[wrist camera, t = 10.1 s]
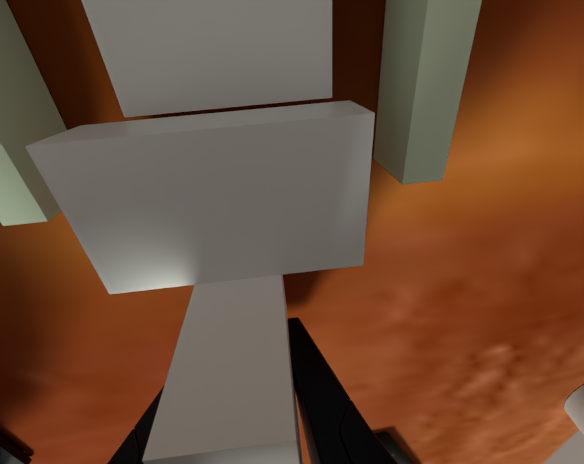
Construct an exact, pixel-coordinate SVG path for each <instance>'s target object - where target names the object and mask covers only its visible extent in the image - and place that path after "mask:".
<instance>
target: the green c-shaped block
mask: <svg viewBox="0 0 584 464" xmlns="http://www.w3.org/2000/svg"><path fill="white" fill-rule="evenodd" d="M481 2H482V0H386V7H385V19H384V32H383V45H382V57H381V70H380V83H379V95H378V108H377V121H376V133H375V146H374V160H375V161H377V162H378V163H379V164H380V165H381V166H382V167H383V168H384V169H386V170H387V171H388V172H389V173H390V174H391V175H392V176H393V177H395V178H396V179H397V180H398V181H399V182H400V183H401V184H411V183H421V182H430V181H440V180H443V176H444V172H445V167H446V163H447V158H448V154H449V149H450V144H451V140H452V135H453V131H454V126H455V121H456V117H457V112H458V108H459V103H460V98H461V94H462V89H463V85H464V80H465V76H466V71H467V66H468V62H469V57H470V53H471V48H472V43H473V39H474V34H475V30H476V25H477V21H478V16H479V11H480V7H481ZM64 131H67V129H66V126H65V124H64V122H63V120H62V118H61V116H60V114H59V112H58V110H57V107H56V105H55V103H54V101H53V99H52V97H51V95H50V93H49V90H48V88H47V86H46V84H45V82H44V80H43V78H42V76H41V74H40V71H39V69H38V67H37V65H36V63H35V61H34V59H33V57H32V54H31V52H30V50H29V48H28V46H27V44H26V42H25V40H24V37H23V35H22V33H21V31H20V29H19V27H18V25H17V23H16V21H15V18H14V16H13V14H12V12H11V10H10V8H9V6H8V4H7V1H6V0H0V222H1V224H2V225H3V226H8V225H18V224H27V223H37V222H47V221H49V220H50V219H52V218H53V217H54V216H56V215H57V214H58V213H60V212H61V211H62V210H61V209H60V207H59V205H58V203H57V202H56V200H55V198H54V197H53V195H52V193H51V191H50V190H49V188H48V186H47V184H46V183H45V181H44V179H43V177H42V176H41V174H40V172H39V170H38V169H37V167H36V165H35V163H34V162H33V160H32V158H31V156H30V155H29V153H28V151H27V149H26V148H25V146H27V145H30V144H32V143H35V142H38V141H40V140H43V139H45V138H48V137H51V136H53V135H56V134H59V133H61V132H64Z"/></svg>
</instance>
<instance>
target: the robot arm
mask: <svg viewBox="0 0 584 464" xmlns="http://www.w3.org/2000/svg"><path fill="white" fill-rule="evenodd" d="M287 321H288V332H289V344H290V354H291V363H292V371H293V379H294V387H295V393H296V397H297V402H298V407H299V411H300V416H301V420H302V425H303V429H304V434H305V438H306V443H307V448H308V452H309V457H310V461H311V464H398V463H397V462H396V460H395V459H394V458H393V457H392V455H391V454H390V453H389V452H388V451H387V449H386V448H385V447H384V446H383V444H382V443H381V442H380V440H379V439H378V438H377V436H376V435H375V434H374V433H373V431H372V430H371V429H370V427H369V426H368V424H367V423H366V421H365V420H364V418H363V417H362V416H361V414H360V413H359V411H358V410H357V408H356V406H355V405H354V403H353V402H352V401H351V400H350V397H349V396H348V394H347V393H346V391H345V390H344V388H343V386H342V385H341V383H340V382H339V380H338V379H337V377H336V375H335V374H334V372H333V371H332V369H331V368H330V366H329V365H328V363H327V361H326V360H325V358H324V357H323V355H322V354H321V352H320V350H319V349H318V347H317V346H316V344H315V343H314V341H313V340H312V338H311V336H310V335H309V333H308V332H307V330H306V329H305V327H304V326H303V324H302V322H301V321H300V319H299V318H289V319H287ZM164 386H165V385H164ZM164 386H163V388H162V389H161V391H160V392H159V393H158V395H157V396H156V398H155V399H154V400H153V402H152V403H151V405H150V406H149V407H148V409H147V410H146V412H145V413H144V414H143V416H142V417H141V419H140V420H139V421H138V423H137V424H136V425H135V429H133V430H132V431H131V432H130V434H129V435H128V436H127V438H126V439H125V441H124V442H123V443H122V445H121V446H120V447H119V449H118V450H117V451H116V453H115V454H114V455H113V457H112V458H111V460H110V461H109V462H108V463H107V464H144V463H143V462H142V459H143V456H144V453H145V449H146V446H147V442H148V439H149V436H150V432H151V429H152V426H153V422H154V419H155V416H156V412H157V409H158V406H159V402H160V399H161V396H162V392H163V389H164ZM30 462H31V458H30V457H28V456H27V455H26V454H24V453H23V452H22V451H20V450H19V449H18V448H17V447H15V446H14V445H13V444H11V443H10V442H9V441H7V440H6V439H5V438H4V437H2V436H1V435H0V464H30Z"/></svg>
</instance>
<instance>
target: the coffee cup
mask: <svg viewBox="0 0 584 464" xmlns="http://www.w3.org/2000/svg"><path fill="white" fill-rule="evenodd" d="M564 409H565V411H566V412H567V414H568V415H569V416H570V418H571V419H572V420H573V422H574V423H575V424H576V425H577V427H578V428H579V429H580V431H581V432H582V433H583V435H584V385H582V386H581V387H579V388H578V389H577V390H575V391H574V392H573V393H572V394H571V395H570V396H569V397H568V399H567V400H566V402H565V404H564Z"/></svg>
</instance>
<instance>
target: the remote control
mask: <svg viewBox="0 0 584 464" xmlns="http://www.w3.org/2000/svg"><path fill="white" fill-rule="evenodd" d="M375 435H376V436H377V438H378V439H379V440H380V442H381V443H382V444H383V446H384V447H385V448H386V449H387V451H388V452H389V453H390V454H391V455H392V457H393V458H394V459H395V460H396V462H397V463H398V464H413V463H412V462H411V461H410V459H409V458H408V457H407V456H406V455H405V453H404V452H403V451H402V450H401V448H400V447H399V446H398V445H397V444H396V442H395V441H394V440H393V439H392V437H391V436H390V435H389V434H388V433H386V432H380V433H375Z"/></svg>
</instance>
